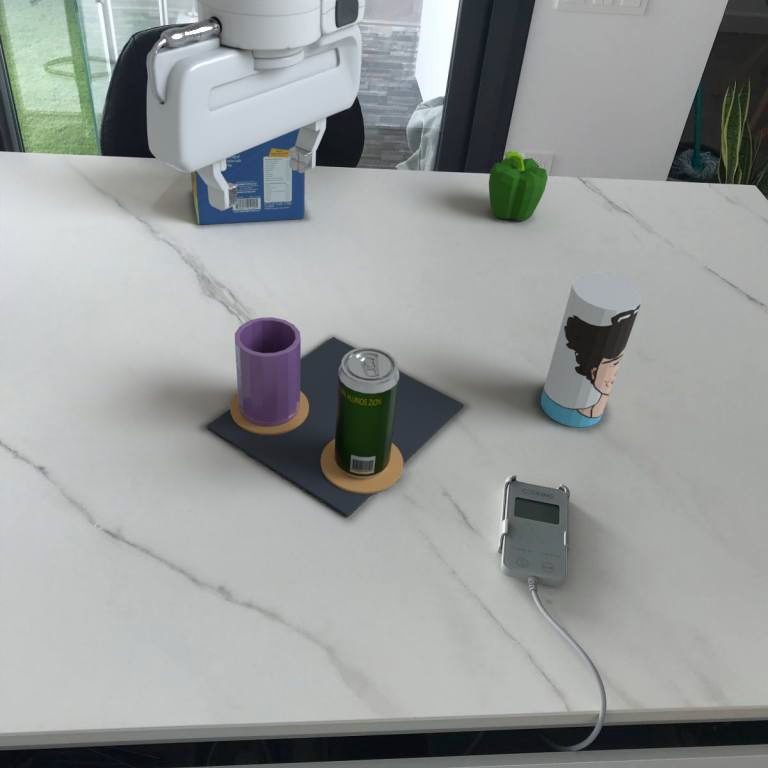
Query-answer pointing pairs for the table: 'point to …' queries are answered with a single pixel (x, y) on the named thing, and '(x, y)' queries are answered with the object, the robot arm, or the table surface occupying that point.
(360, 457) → the beer can
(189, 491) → the table surface
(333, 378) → the placemat
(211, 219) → the protein box
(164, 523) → the table surface
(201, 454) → the table surface
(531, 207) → the bell pepper
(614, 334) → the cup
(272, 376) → the purple cup
